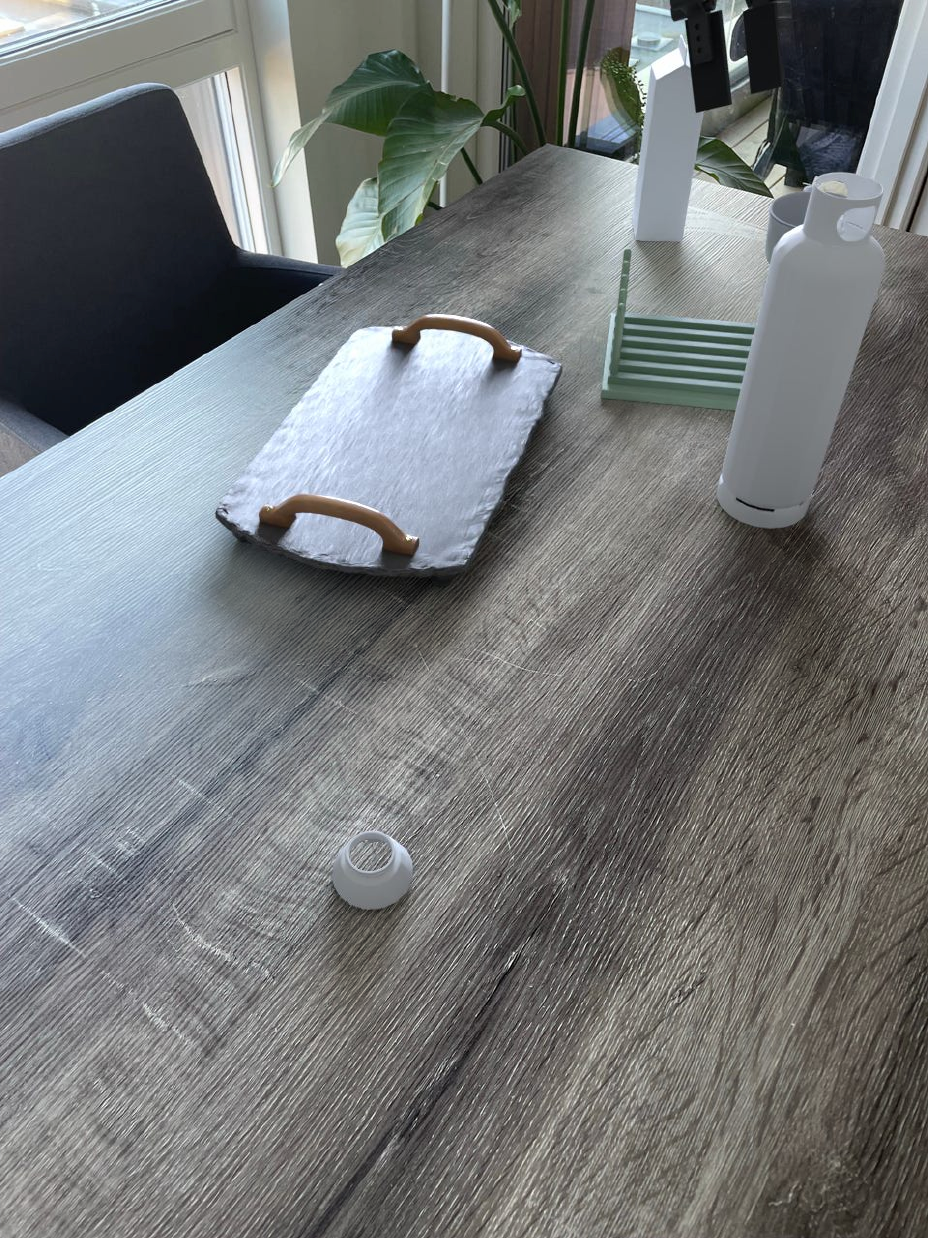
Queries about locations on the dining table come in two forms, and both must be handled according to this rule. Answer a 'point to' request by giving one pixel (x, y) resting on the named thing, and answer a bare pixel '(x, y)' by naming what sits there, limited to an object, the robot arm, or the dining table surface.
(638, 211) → the milk
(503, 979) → the dining table surface
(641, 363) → the rack
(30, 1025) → the dining table surface
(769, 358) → the bottle
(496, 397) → the serving tray
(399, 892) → the grey flared ring
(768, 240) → the teacup
